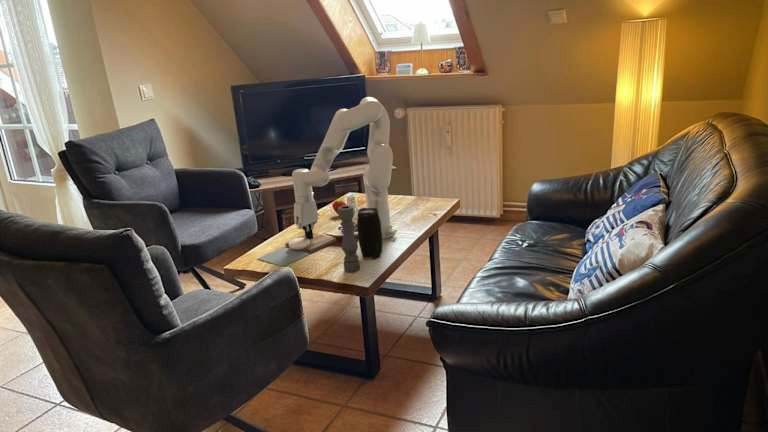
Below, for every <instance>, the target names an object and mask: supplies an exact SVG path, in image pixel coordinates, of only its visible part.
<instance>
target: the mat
mask: <svg viewBox="0 0 768 432" xmlns="http://www.w3.org/2000/svg"><path fill="white" fill-rule="evenodd" d="M309 255H311V253H308V252H304V251H300V250H296V249H291V248H288V247H286V246H284V247H281V248H278V249H276V250H274V251H272V252H270V253H267V254H265V255H262V256H260V257H258V258H257V261H261V262H265V263H268V264H272V265H276V266H278V267H282V266H284V267H286V266H288V265H290V264H293V263H294V262H297V261H298V260H300V259H303V258H305V257H307V256H309Z"/></svg>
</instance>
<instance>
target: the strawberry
mask: <svg viewBox="0 0 768 432" xmlns="http://www.w3.org/2000/svg"><path fill="white" fill-rule="evenodd" d="M340 198H341V197H340V196H339V199H335V200H333V203H332V209H333V211H334V212H335V213H336V214H337V215H338V216H339V214H338V207H340V206H343V205H347V203H346V202H345V200H344V198H341V199H340Z"/></svg>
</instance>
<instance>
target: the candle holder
mask: <svg viewBox="0 0 768 432" xmlns="http://www.w3.org/2000/svg"><path fill="white" fill-rule="evenodd" d="M338 214H339V215H338ZM338 214H337V215H338V217H339V220H340V221H341V222H340V223H339V224H340V226H341V227H342V243H341V249H342V251H343V253H344V255H345V256H344V257H343V270H344V272H345V273H348V274H355V273H359V271H361V260H360V259H359V258H360V257H359V256H358V254H357V251H358V249H359V243H358V241H357V238H356V236H355V234H354V233H355V232H354V226H355V222H354V220H353V219H354V216H355V210H354V206H353V205H352V204H346V205H343V206H340V207H338Z"/></svg>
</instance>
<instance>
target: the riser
mask: <svg viewBox="0 0 768 432" xmlns="http://www.w3.org/2000/svg"><path fill="white" fill-rule="evenodd" d="M298 238H306V237H305V234H304V235H300V236H299V237H298ZM336 242H337V238H336V237H333V236H328V235H323V234H319V233H314V232H313V239H311V240H310V246H308V247H306V248H303V249H296V250H300V251H304V252H308V253H310V254H314V253H316V252H318V251H320V250H321V249H324V248H326V247H328V246H331V245H332V244H334V243H336ZM284 244H285V247H288V248H289V241H287V242H285V243H284Z"/></svg>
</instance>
